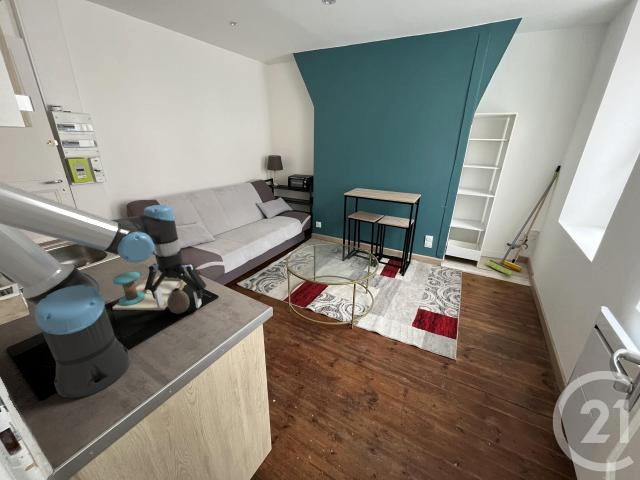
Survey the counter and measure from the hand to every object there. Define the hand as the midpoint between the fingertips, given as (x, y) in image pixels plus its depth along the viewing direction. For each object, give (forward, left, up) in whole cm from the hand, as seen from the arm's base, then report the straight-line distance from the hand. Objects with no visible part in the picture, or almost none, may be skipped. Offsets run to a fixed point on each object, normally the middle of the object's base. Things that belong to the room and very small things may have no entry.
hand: (180, 305), depth 94 cm
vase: (0, 0, -2) cm, 2 cm away
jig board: (+10, +15, -2) cm, 18 cm away
